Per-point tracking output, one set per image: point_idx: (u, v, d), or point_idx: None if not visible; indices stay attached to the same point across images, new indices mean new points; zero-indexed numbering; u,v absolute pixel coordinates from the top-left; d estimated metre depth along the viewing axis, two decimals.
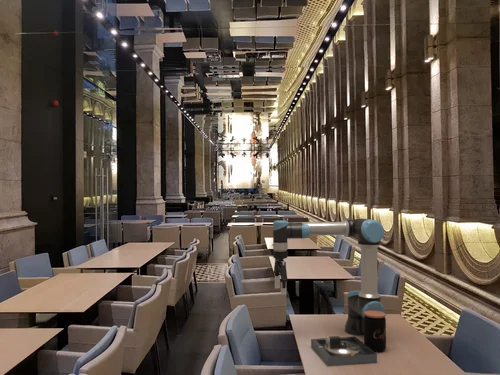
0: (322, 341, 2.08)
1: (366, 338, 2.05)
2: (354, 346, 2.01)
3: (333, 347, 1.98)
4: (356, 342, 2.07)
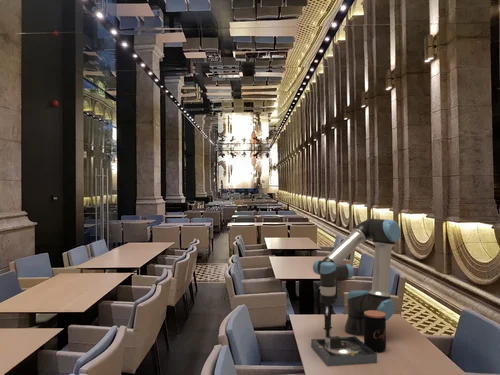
0: (322, 341, 2.08)
1: (366, 338, 2.05)
2: (354, 346, 2.01)
3: (333, 347, 1.98)
4: (356, 342, 2.07)
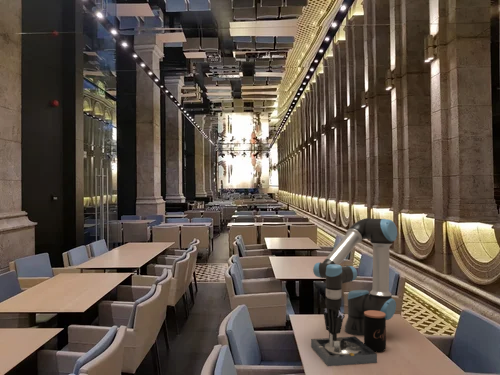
0: (322, 341, 2.08)
1: (366, 338, 2.05)
2: (346, 342, 2.05)
3: (341, 349, 1.95)
4: (356, 342, 2.07)
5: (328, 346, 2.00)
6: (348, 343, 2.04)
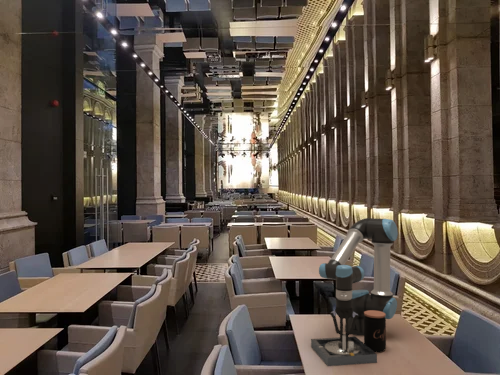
0: (322, 341, 2.08)
1: (366, 338, 2.05)
2: (335, 342, 2.06)
3: None
4: (356, 342, 2.07)
5: (334, 351, 1.95)
6: (338, 342, 2.06)
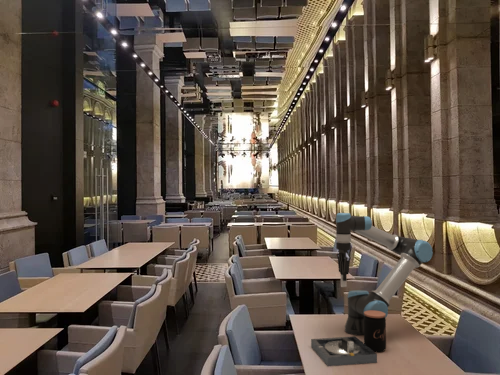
0: (322, 341, 2.08)
1: (366, 338, 2.05)
2: (335, 342, 2.06)
3: None
4: (356, 342, 2.07)
5: (334, 351, 1.95)
6: (338, 342, 2.06)
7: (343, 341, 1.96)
